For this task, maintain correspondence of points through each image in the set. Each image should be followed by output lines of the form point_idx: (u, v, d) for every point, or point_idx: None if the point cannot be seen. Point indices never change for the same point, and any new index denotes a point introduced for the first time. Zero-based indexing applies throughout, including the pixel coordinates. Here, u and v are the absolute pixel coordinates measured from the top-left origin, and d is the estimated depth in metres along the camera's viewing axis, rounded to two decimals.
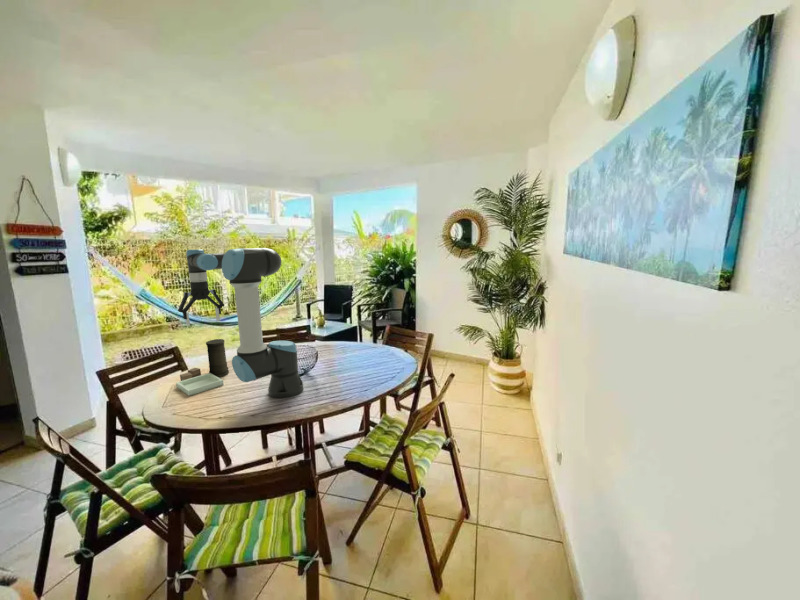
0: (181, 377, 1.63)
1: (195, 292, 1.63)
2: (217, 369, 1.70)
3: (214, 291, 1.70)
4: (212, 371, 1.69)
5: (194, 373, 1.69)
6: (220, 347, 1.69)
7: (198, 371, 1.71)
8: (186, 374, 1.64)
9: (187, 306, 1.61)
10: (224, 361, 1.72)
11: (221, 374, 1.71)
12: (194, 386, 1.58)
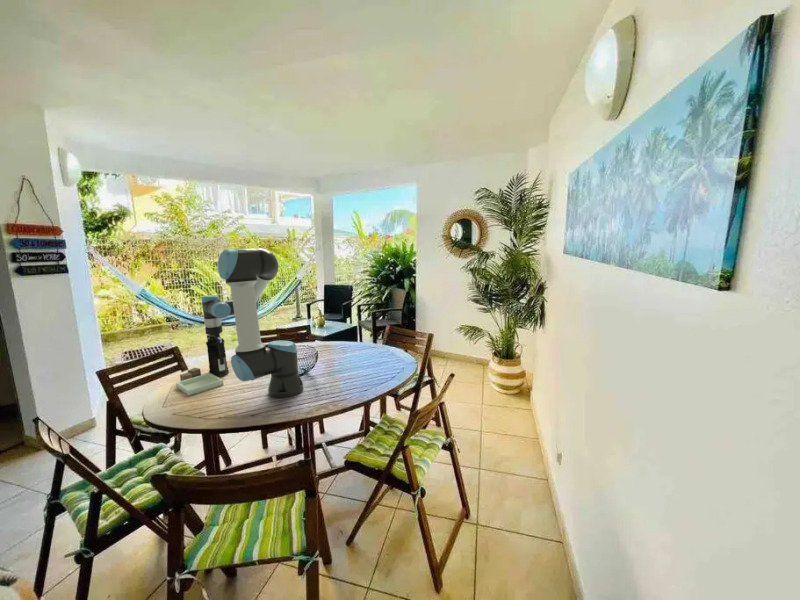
0: (181, 377, 1.63)
1: (210, 335, 1.71)
2: (217, 369, 1.70)
3: (217, 341, 1.66)
4: (212, 371, 1.69)
5: (194, 373, 1.69)
6: None
7: (198, 371, 1.71)
8: (186, 374, 1.64)
9: None
10: (224, 361, 1.72)
11: (221, 374, 1.71)
12: (194, 386, 1.58)
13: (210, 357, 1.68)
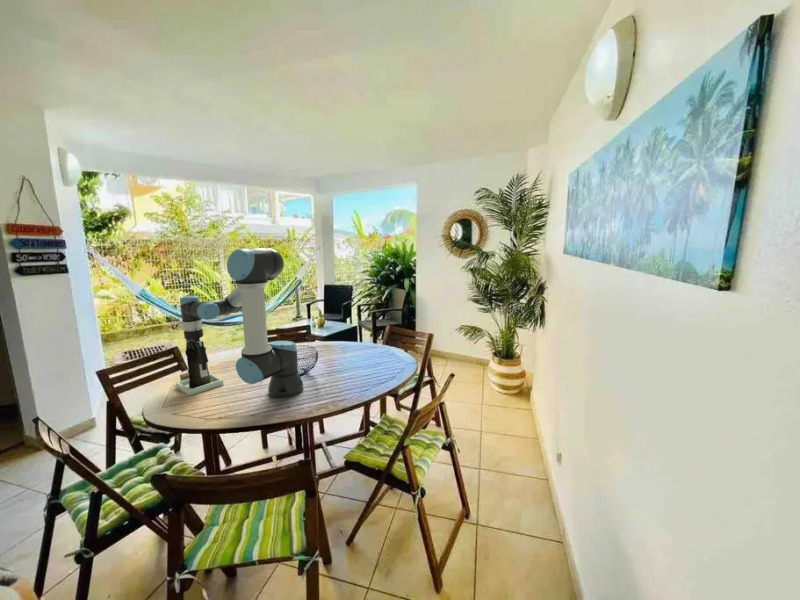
0: (181, 377, 1.63)
1: (190, 340, 1.56)
2: (198, 380, 1.55)
3: (197, 344, 1.51)
4: (192, 382, 1.55)
5: None
6: None
7: None
8: (186, 374, 1.64)
9: None
10: None
11: (202, 385, 1.56)
12: None
13: (190, 366, 1.54)
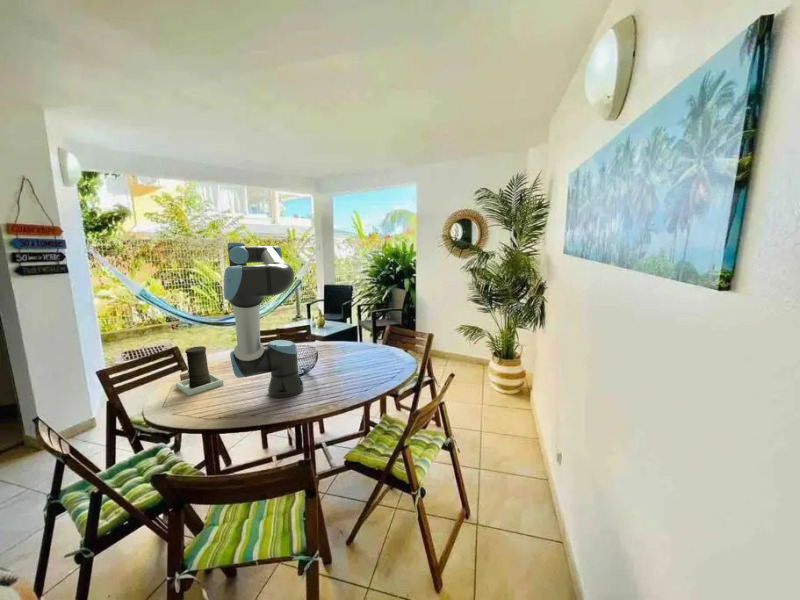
0: (181, 377, 1.63)
1: None
2: (198, 379, 1.55)
3: None
4: (192, 382, 1.55)
5: None
6: (201, 355, 1.55)
7: None
8: (186, 374, 1.64)
9: None
10: (205, 370, 1.58)
11: (202, 385, 1.56)
12: None
13: (190, 366, 1.54)
